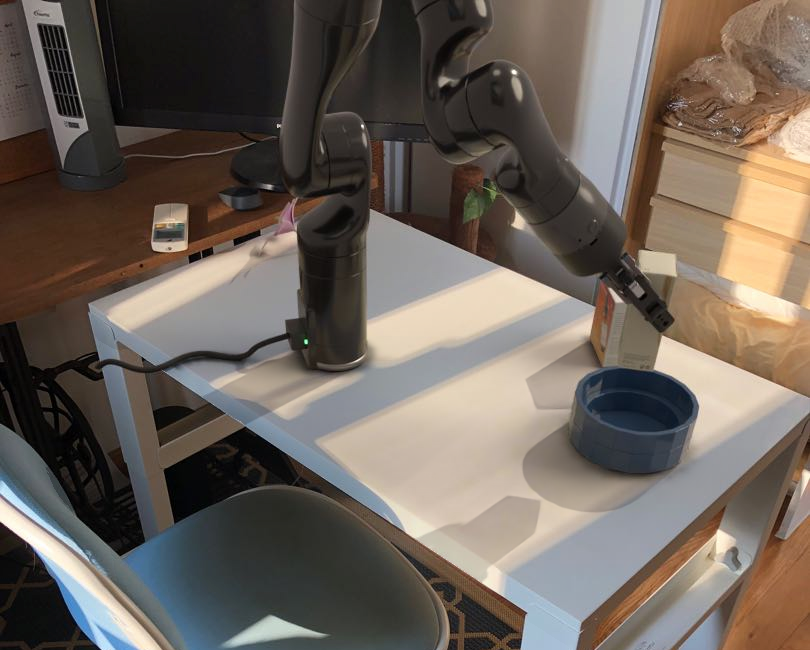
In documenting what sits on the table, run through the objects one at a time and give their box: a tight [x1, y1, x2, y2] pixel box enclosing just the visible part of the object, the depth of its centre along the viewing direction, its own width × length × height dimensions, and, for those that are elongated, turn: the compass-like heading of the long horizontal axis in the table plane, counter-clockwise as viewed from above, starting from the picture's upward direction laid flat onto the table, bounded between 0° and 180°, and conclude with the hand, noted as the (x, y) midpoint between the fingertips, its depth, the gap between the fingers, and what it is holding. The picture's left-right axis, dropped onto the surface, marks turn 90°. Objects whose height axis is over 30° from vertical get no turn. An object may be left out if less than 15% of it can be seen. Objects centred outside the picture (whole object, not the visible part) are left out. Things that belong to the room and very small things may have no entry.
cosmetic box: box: [618, 249, 678, 372], centre depth 106 cm, size 6×4×12 cm
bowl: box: [567, 366, 700, 474], centre depth 118 cm, size 15×15×6 cm
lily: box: [258, 197, 299, 255], centre depth 156 cm, size 12×12×10 cm
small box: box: [589, 280, 627, 368], centre depth 132 cm, size 8×6×10 cm
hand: (650, 309), depth 106 cm, fingers closed on cosmetic box, 7 cm apart
